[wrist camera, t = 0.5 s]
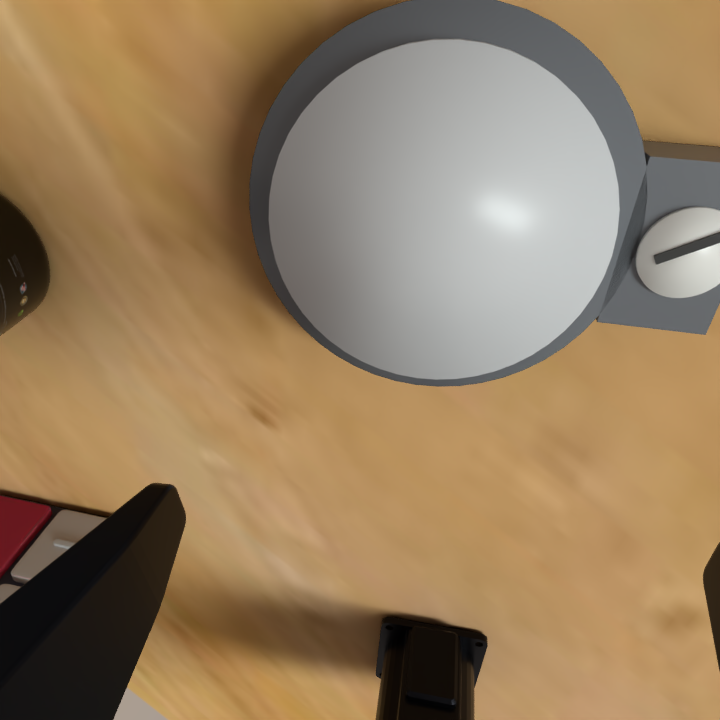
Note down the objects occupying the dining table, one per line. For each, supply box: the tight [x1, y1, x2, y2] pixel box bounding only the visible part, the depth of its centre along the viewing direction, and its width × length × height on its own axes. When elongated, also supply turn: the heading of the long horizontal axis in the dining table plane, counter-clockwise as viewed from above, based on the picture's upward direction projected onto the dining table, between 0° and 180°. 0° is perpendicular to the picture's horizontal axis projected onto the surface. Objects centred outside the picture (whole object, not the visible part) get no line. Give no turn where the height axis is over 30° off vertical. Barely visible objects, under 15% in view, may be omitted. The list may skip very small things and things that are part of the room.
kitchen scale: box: [250, 0, 720, 386], centre depth 19 cm, size 13×16×4 cm
